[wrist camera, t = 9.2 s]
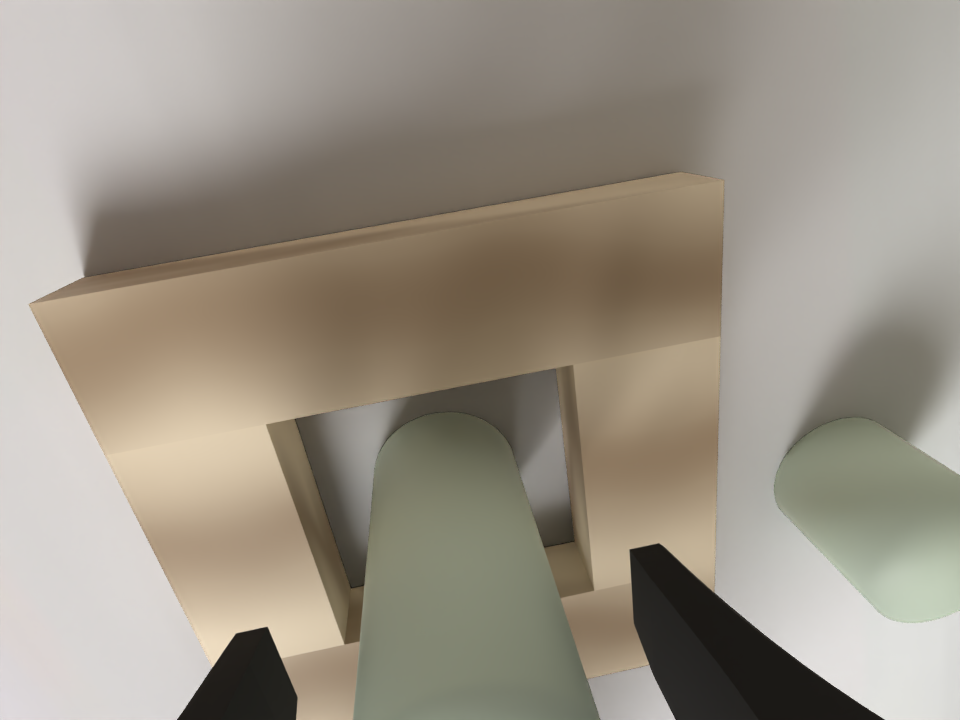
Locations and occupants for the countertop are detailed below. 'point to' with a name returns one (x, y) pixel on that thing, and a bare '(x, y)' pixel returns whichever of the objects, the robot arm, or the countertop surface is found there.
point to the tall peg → (460, 587)
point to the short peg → (878, 515)
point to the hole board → (402, 373)
